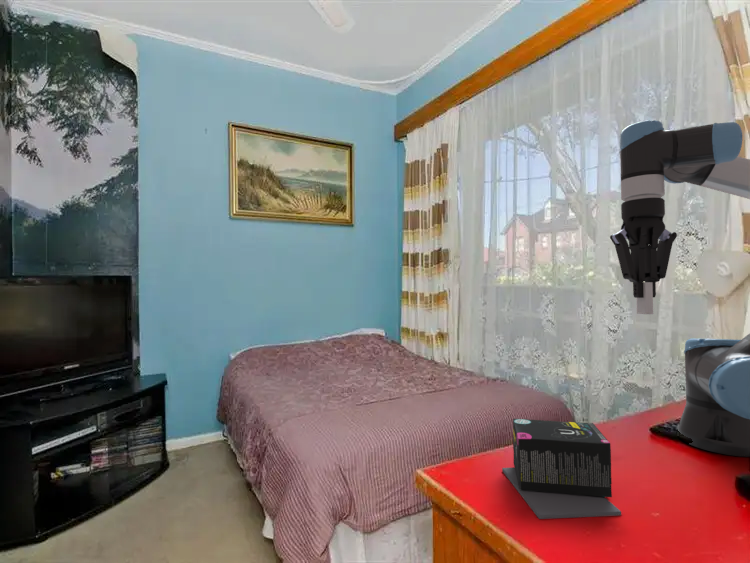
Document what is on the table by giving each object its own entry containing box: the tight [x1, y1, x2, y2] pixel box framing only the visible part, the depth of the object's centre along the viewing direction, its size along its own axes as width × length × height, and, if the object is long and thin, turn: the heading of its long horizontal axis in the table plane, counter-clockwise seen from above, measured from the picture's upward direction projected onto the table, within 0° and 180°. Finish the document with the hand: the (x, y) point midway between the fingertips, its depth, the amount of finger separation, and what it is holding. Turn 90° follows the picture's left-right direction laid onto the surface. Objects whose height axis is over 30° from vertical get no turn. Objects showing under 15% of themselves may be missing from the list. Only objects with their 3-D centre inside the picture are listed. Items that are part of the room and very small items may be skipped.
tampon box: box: [512, 418, 613, 498], centre depth 73 cm, size 11×9×15 cm
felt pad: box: [501, 466, 622, 520], centre depth 71 cm, size 13×16×1 cm
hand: (644, 313), depth 84 cm, fingers closed
